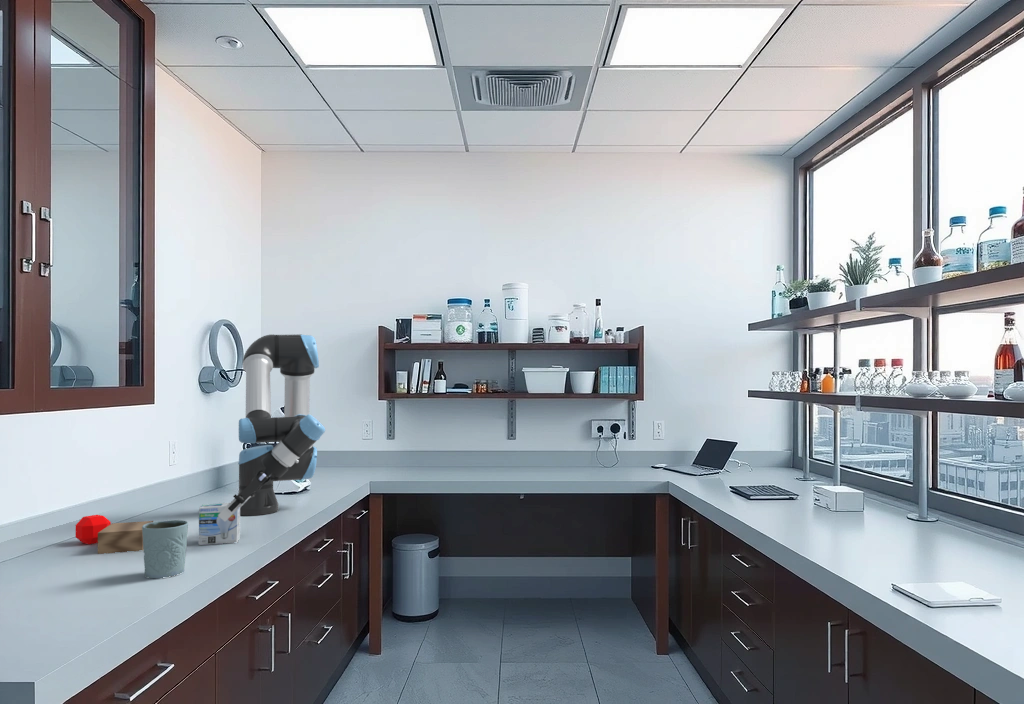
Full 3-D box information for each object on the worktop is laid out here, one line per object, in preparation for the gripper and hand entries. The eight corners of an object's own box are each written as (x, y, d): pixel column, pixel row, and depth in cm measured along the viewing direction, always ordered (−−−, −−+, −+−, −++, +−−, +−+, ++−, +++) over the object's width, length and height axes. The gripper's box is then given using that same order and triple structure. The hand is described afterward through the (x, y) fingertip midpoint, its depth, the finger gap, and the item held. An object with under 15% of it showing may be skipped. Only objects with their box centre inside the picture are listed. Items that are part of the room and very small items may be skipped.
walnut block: (97, 555, 195) (97, 532, 195) (111, 544, 208) (111, 523, 208) (142, 551, 198) (142, 529, 198) (153, 541, 211) (153, 520, 211)
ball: (114, 541, 211) (114, 515, 211) (85, 546, 204) (85, 519, 204) (100, 538, 215) (100, 512, 215) (71, 543, 209) (72, 517, 209)
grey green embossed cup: (166, 567, 179) (166, 518, 179) (197, 570, 175) (197, 521, 175) (131, 577, 169) (132, 526, 170) (164, 581, 166) (164, 529, 166)
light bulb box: (198, 545, 203) (198, 507, 203) (201, 541, 209) (201, 503, 210) (238, 543, 206) (238, 505, 206) (240, 538, 212) (240, 501, 213)
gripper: (284, 473, 199) (227, 531, 195) (294, 464, 223) (244, 515, 220) (264, 454, 198) (206, 512, 194) (276, 447, 222) (225, 499, 219)
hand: (226, 514), depth 207 cm, fingers open, 13 cm apart
